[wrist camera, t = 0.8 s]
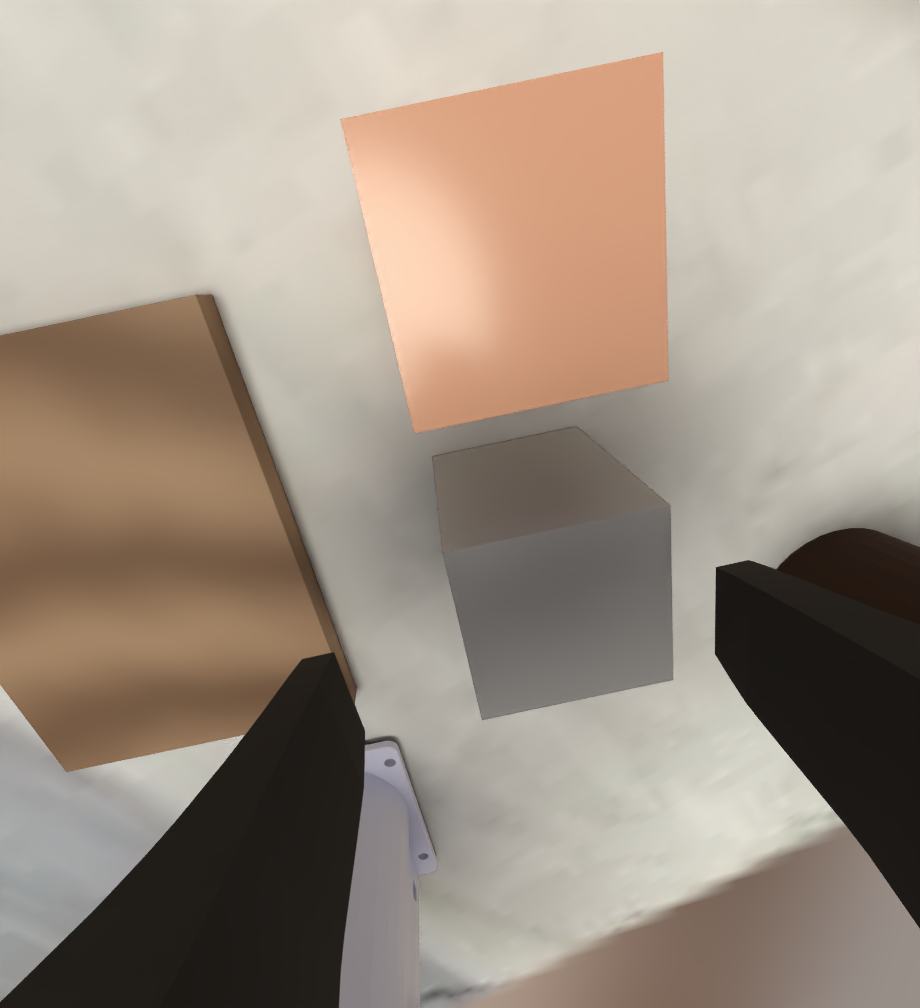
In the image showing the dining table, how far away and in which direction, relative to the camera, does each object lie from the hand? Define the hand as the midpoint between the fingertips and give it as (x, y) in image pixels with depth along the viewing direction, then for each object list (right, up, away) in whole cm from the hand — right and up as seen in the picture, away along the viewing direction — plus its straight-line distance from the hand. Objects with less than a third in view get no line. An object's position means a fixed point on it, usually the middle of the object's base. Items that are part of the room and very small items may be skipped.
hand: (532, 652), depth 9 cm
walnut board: (-13, +1, +9) cm, 16 cm away
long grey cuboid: (+1, +3, +9) cm, 10 cm away
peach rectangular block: (-1, +10, +6) cm, 12 cm away
